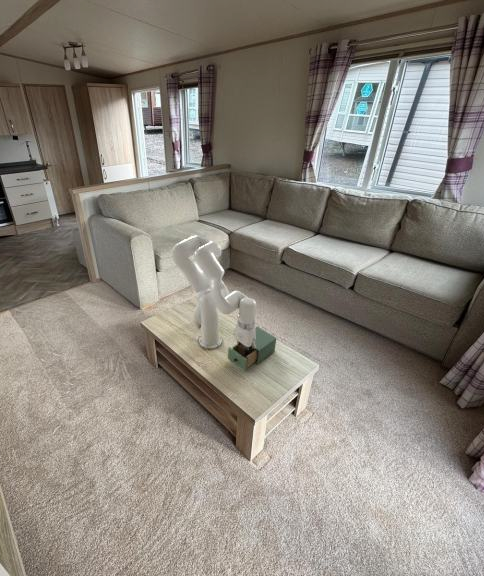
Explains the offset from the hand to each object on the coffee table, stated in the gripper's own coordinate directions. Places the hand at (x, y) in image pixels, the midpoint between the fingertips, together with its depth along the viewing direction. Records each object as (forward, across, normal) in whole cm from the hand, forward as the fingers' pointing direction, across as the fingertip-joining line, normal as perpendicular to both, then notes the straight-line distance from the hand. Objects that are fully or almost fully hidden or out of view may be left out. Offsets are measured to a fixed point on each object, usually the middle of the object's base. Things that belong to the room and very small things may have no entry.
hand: (243, 351), depth 150 cm
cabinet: (+6, 0, +10) cm, 12 cm away
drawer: (+5, 0, 0) cm, 5 cm away
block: (0, 0, 0) cm, 0 cm away
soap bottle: (+7, -37, +7) cm, 38 cm away
